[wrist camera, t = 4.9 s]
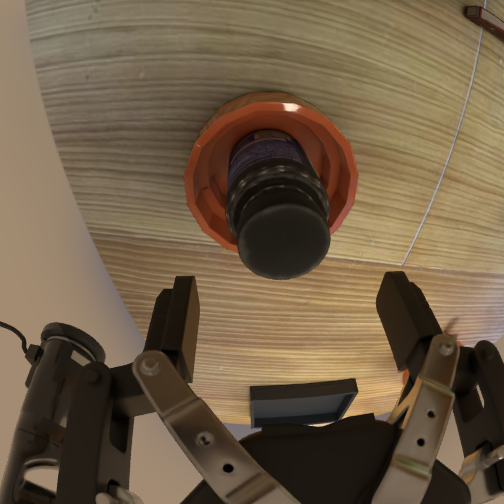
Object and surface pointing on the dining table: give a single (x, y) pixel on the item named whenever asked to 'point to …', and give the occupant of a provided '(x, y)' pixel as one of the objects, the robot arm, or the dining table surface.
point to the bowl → (256, 118)
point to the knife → (486, 20)
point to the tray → (301, 403)
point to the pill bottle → (276, 206)
